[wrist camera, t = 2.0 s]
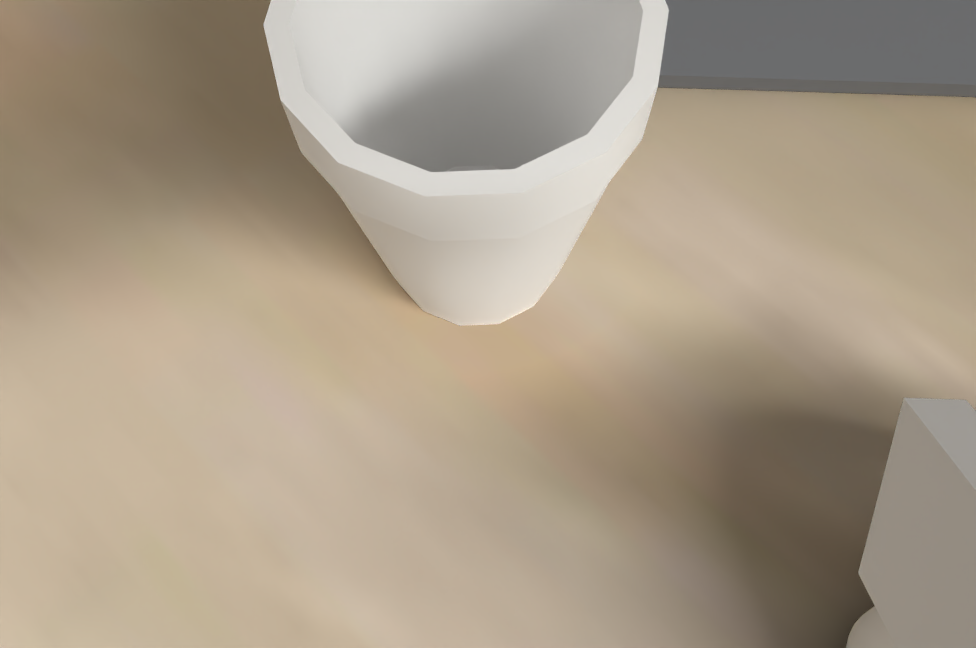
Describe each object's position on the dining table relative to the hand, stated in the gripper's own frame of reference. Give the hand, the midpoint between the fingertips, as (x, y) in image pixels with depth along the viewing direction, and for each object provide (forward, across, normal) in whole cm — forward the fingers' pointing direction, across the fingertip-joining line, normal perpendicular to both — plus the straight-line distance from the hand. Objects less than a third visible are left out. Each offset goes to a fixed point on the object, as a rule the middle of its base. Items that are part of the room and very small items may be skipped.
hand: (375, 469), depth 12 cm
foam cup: (+22, +1, -5) cm, 23 cm away
